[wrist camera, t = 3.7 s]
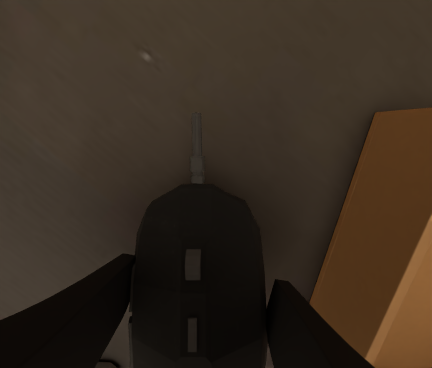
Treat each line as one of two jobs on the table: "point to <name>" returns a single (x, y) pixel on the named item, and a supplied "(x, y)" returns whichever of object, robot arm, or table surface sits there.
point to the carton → (385, 247)
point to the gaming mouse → (198, 279)
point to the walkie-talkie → (105, 365)
